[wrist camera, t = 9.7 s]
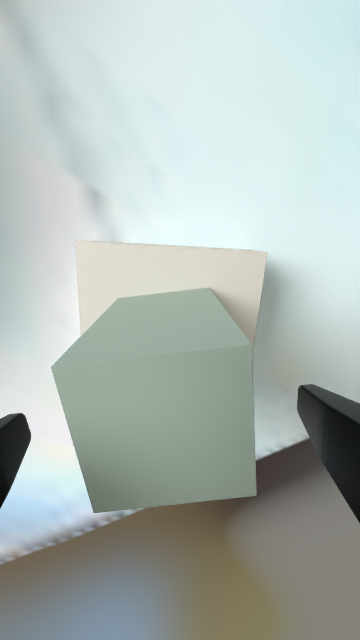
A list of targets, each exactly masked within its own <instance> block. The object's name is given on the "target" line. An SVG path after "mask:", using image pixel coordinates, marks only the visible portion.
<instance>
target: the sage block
mask: <svg viewBox="0 0 360 640" xmlns="http://www.w3.org/2000/svg"><path fill="white" fill-rule="evenodd" d="M51 369H52V372H53V376H54V379H55V382H56V386H57V389H58V393H59V396H60V400H61V403H62V406H63V410H64V413H65V417H66V420H67V423H68V427H69V430H70V434H71V437H72V440H73V444H74V447H75V451H76V454H77V457H78V461H79V464H80V468H81V471H82V474H83V478H84V481H85V485H86V488H87V491H88V495H89V498H90V502H91V505H92V508H93V512H94V513H99V512H109V511H118V510H127V509H136V508H146V507H154V506H164V505H172V504H182V503H192V502H200V501H210V500H220V499H229V498H238V497H247V496H256V466H255V465H256V464H255V433H254V402H253V371H252V344H251V343H250V342H249V340H248V339H247V338H246V336H245V335H244V334H243V332H242V331H241V330H240V328H239V327H238V326H237V324H236V323H235V322H234V320H233V319H232V318H231V316H230V315H229V314H228V312H227V311H226V310H225V308H224V307H223V306H222V304H221V303H220V302H219V300H218V299H217V298H216V296H215V295H214V294H213V292H212V291H211V290H210V288H200V289H191V290H183V291H174V292H166V293H157V294H149V295H140V296H131V297H123V298H117V299H116V301H115V302H114V303H113V304H112V305H111V306H110V307H109V308H108V309H107V310H106V311H105V312H104V313H103V314H102V315H101V316H100V317H99V318H98V319H97V320H96V321H95V322H94V323H93V324H92V325H91V326H90V327H89V328H88V330H87V331H86V332H85V333H84V334H83V335H82V336H81V337H80V338H79V339H78V340H77V341H76V342H75V343H74V344H73V345H72V346H71V347H70V348H69V349H68V350H67V351H66V352H65V353H64V354H63V355H62V356H61V357H60V359H59V360H58V361H57V362H56V363H55V364H54V365H53V366H52V367H51Z"/></svg>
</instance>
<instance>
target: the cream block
mask: <svg viewBox="0 0 360 640" xmlns="http://www.w3.org/2000/svg"><path fill="white" fill-rule="evenodd" d="M75 248H76V264H77V281H78V297H79V313H80V329H81V336H82V335H83V334H84V333H85V332H86V331H87V330H88V328H89V327H90V326H91V325H92V324H93V323H94V322H95V321H96V320H97V319H98V318H99V317H100V316H101V315H102V314H103V313H104V312H105V311H106V310H107V309H108V308H109V307H110V306H111V305H112V304H113V303H114V302H115V301H116V299H117V298H123V297H131V296H140V295H149V294H157V293H166V292H174V291H183V290H191V289H200V288H210V290H211V291H212V292H213V294H214V295H215V296H216V298H217V299H218V300H219V302H220V303H221V304H222V306H223V307H224V308H225V310H226V311H227V312H228V314H229V315H230V316H231V318H232V319H233V320H234V322H235V323H236V324H237V326H238V327H239V328H240V330H241V331H242V332H243V334H244V335H245V336H246V338H247V339H248V340H249V342H250V343H251V344H252V353H253V346H254V339H255V333H256V326H257V320H258V313H259V306H260V300H261V293H262V286H263V280H264V273H265V266H266V260H267V253H268V252H263V251H254V250H245V249H229V248H211V247H194V246H176V245H159V244H142V243H124V242H107V241H75Z"/></svg>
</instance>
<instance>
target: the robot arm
mask: <svg viewBox="0 0 360 640" xmlns="http://www.w3.org/2000/svg"><path fill="white" fill-rule="evenodd" d="M297 410H298V414H299V416H300V418H301V420H302V422H303V424H304V426H305V428H306V430H307V433H308V435H309V437H310V439H311V441H312V443H313V445H314V447H315V449H316V451H317V453H318V455H319V457H320V459H321V461H322V462H323V464H324V466H325V467H326V469H327V471H328V472H329V474H330V476H331V477H332V479H333V480H334V482H335V484H336V485H337V487H338V488H339V490H340V492H341V493H342V495H343V497H344V498H345V500H346V502H347V503H348V505H349V506H350V508H351V510H352V511H353V513H354V514H355V516H356V518H357V519H358V521H359V522H360V404H359V403H357V402H355V401H352V400H350V399H347V398H345V397H342V396H340V395H337V394H335V393H333V392H330V391H328V390H325V389H323V388H320V387H318V386H315V385H313V384H309V385H301V386H299V388H298V401H297ZM30 440H31V432H30V429H29V426H28V423H27V420H26V417H25V415H24V414H22V413H16V414H9V415H7V416H5V417H3V418H1V419H0V508H1V506H2V504H3V503H4V501H5V499H6V497H7V495H8V493H9V491H10V488H11V486H12V484H13V482H14V479H15V477H16V475H17V472H18V470H19V467H20V465H21V463H22V460H23V458H24V455H25V453H26V451H27V448H28V446H29V443H30Z"/></svg>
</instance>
